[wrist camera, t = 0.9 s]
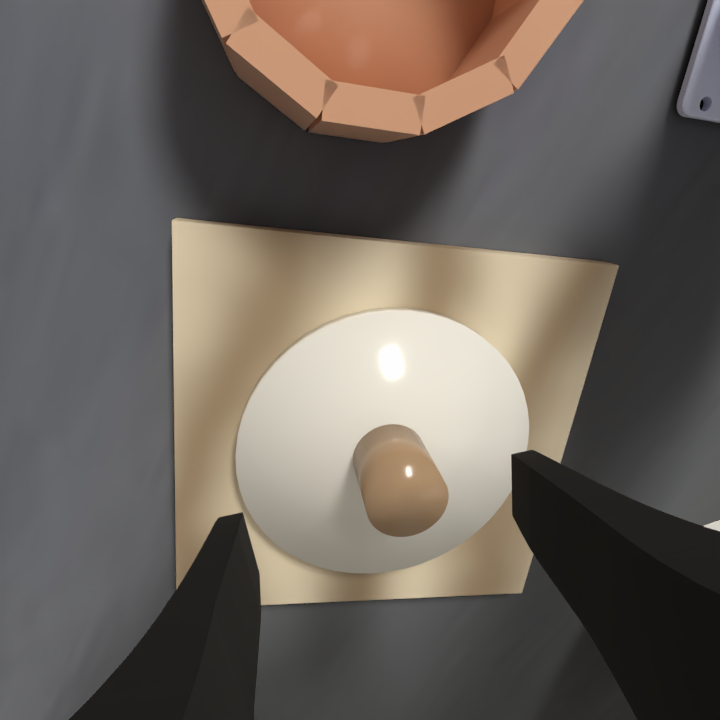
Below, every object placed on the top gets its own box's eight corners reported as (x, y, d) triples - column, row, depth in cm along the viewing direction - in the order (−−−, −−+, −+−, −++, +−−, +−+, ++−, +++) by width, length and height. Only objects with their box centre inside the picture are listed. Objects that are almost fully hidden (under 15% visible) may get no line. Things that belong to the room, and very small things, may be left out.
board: (604, 261, 22) (618, 265, 21) (513, 579, 28) (521, 592, 27) (176, 217, 18) (171, 220, 17) (180, 592, 25) (176, 609, 24)
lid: (551, 317, 21) (609, 349, 18) (488, 557, 26) (525, 621, 22) (241, 295, 19) (235, 327, 15) (232, 565, 23) (225, 640, 20)
